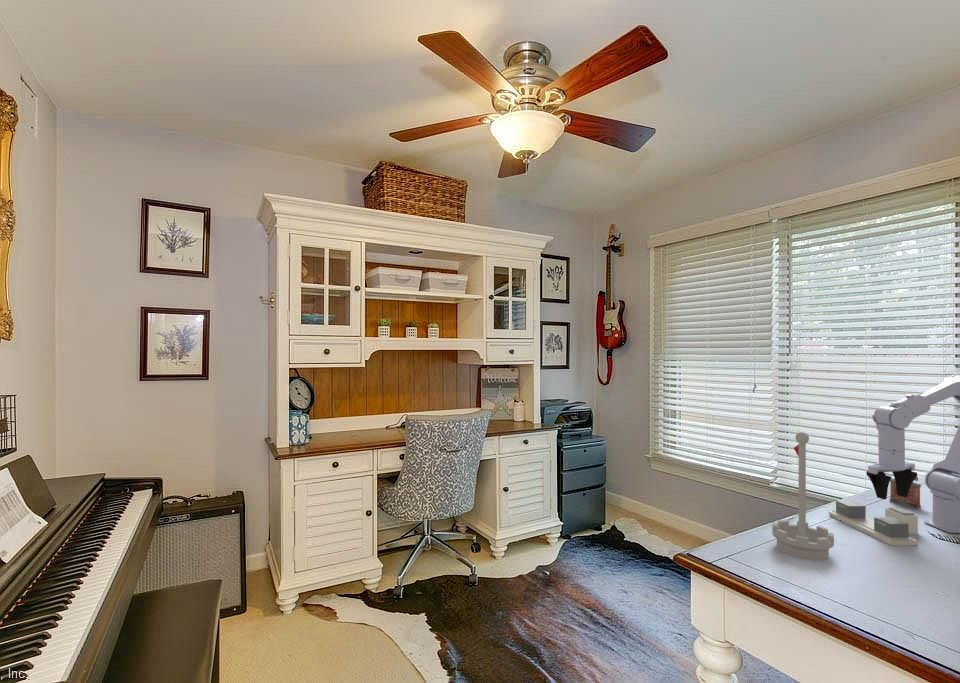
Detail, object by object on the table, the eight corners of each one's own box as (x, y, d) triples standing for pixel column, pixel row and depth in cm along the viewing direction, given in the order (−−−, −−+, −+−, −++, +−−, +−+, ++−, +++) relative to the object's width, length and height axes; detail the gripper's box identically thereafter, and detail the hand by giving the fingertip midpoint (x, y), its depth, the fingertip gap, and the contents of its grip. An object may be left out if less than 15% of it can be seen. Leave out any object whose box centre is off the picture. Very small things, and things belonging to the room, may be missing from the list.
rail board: (851, 515, 149) (851, 498, 149) (917, 545, 127) (917, 526, 127) (829, 515, 148) (829, 498, 148) (890, 545, 126) (890, 526, 126)
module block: (898, 525, 141) (898, 506, 141) (917, 533, 135) (917, 514, 135) (885, 525, 141) (885, 506, 141) (903, 533, 135) (903, 514, 135)
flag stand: (844, 564, 116) (845, 438, 116) (784, 559, 119) (784, 436, 119) (818, 542, 129) (818, 428, 129) (764, 538, 131) (764, 426, 131)
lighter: (887, 501, 161) (887, 471, 161) (893, 500, 163) (893, 470, 163) (917, 509, 154) (917, 477, 154) (923, 507, 156) (923, 476, 156)
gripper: (896, 444, 143) (896, 490, 143) (857, 447, 140) (857, 494, 140) (922, 449, 137) (923, 498, 137) (882, 453, 133) (883, 502, 133)
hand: (891, 497), depth 138 cm, fingers open, 7 cm apart
